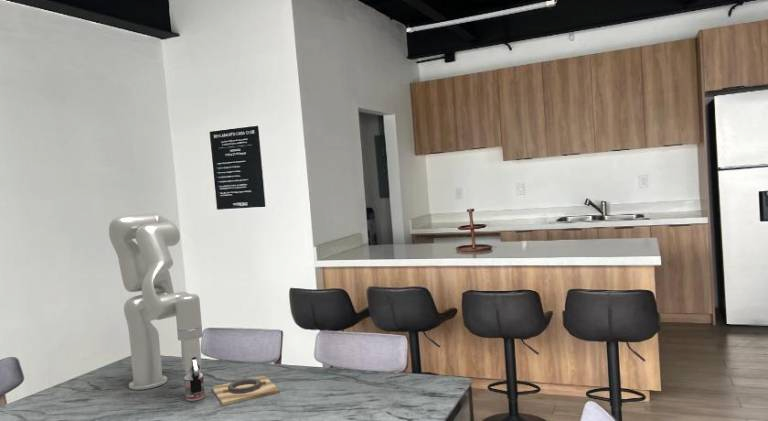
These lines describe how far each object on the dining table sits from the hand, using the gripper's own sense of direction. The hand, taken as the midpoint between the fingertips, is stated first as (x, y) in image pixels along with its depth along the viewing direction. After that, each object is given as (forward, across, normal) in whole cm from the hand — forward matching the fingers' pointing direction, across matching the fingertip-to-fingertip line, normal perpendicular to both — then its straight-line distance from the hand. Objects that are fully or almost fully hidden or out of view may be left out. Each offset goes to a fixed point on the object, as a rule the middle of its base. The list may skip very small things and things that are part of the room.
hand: (194, 388), depth 184 cm
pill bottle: (+3, 0, 0) cm, 3 cm away
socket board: (+3, +4, +15) cm, 16 cm away
